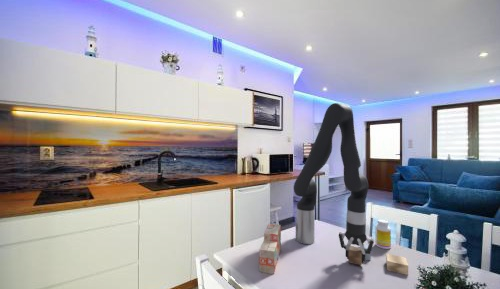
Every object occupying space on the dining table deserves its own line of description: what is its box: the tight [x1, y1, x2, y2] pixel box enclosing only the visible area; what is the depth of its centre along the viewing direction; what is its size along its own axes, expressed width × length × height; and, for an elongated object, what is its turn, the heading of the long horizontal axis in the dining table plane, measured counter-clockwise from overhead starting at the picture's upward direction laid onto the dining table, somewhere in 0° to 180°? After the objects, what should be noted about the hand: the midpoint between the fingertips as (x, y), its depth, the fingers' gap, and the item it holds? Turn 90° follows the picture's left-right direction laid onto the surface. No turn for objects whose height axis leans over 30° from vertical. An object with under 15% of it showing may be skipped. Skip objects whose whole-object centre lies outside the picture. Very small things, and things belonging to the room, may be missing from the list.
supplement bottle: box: [374, 219, 392, 250], centre depth 109 cm, size 7×7×13 cm
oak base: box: [385, 253, 409, 276], centre depth 90 cm, size 7×7×4 cm
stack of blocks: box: [258, 223, 282, 275], centre depth 96 cm, size 21×6×12 cm, turn 165°
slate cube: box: [357, 243, 372, 261], centre depth 99 cm, size 5×5×5 cm
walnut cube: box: [347, 245, 362, 266], centre depth 93 cm, size 5×5×5 cm
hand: (355, 259), depth 93 cm, fingers closed on walnut cube, 5 cm apart
